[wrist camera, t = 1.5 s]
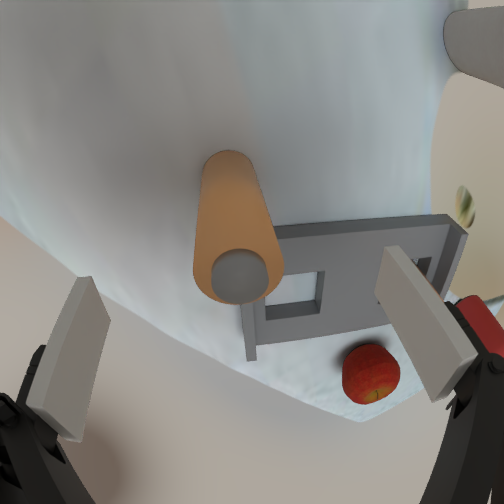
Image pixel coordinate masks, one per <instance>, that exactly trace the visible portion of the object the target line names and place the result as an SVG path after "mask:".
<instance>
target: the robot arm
mask: <svg viewBox="0 0 504 504" xmlns="http://www.w3.org/2000/svg"><path fill="white" fill-rule="evenodd" d="M374 294H375V296H376V297H377V299H378V301H379V302H380V304H381V306H382V308H383V309H384V311H385V313H386V315H387V317H388V318H389V320H390V322H391V324H392V326H393V327H394V329H395V331H396V333H397V335H398V337H399V338H400V340H401V342H402V344H403V346H404V348H405V350H406V352H407V353H408V355H409V357H410V359H411V361H412V363H413V365H414V367H415V369H416V371H417V373H418V375H419V377H420V379H421V381H422V383H423V385H424V387H425V389H426V391H427V393H428V396H429V398H430V400H431V402H432V403H433V402H436V401H438V400H441V399H443V398H446V397H447V396H448V395H449V394H450V393H451V391H452V390H453V389H454V391H455V392H456V395H455V397H454V398H453V399H452V400H451V401H450V403H449V404H448V405H447V407H446V410H448V409H449V408H450V407H451V406H452V408H451V412H450V416H449V420H448V424H447V428H446V431H445V435H444V438H443V441H442V444H441V448H440V451H439V454H438V457H437V460H436V463H435V465H434V468H433V471H432V474H431V476H430V479H429V482H428V484H427V487H426V489H425V492H424V494H423V496H422V499H421V501H420V503H419V504H487V502H488V499H489V495H490V492H491V488H492V493H491V494H492V495H491V504H504V358H503V357H502V356H501V355H499V354H497V353H489V351H488V350H487V349H486V347H485V346H484V344H483V343H482V341H481V340H480V338H479V337H478V335H477V334H476V332H475V331H474V329H473V328H472V326H470V324H469V322H468V321H467V319H465V317H464V315H463V314H462V312H461V311H460V310H459V308H457V307H456V306H455V305H453V304H452V303H451V302H450V301H447V302H443V301H442V300H441V299H440V297H439V296H438V295H437V293H436V292H435V290H434V289H433V288H432V287H431V285H430V284H429V283H428V281H427V280H426V279H425V277H424V276H423V275H422V274H421V272H420V271H419V270H418V268H417V267H416V266H415V265H414V263H413V262H412V261H411V260H410V259H409V257H408V256H407V255H406V254H405V252H404V251H403V250H402V249H401V248H400V246H399V245H396V246H387V247H384V252H383V257H382V261H381V266H380V270H379V275H378V279H377V283H376V287H375V291H374ZM110 322H111V320H110V317H109V315H108V313H107V311H106V309H105V307H104V304H103V302H102V300H101V297H100V295H99V293H98V290H97V288H96V286H95V283H94V281H93V279H92V276H88V277H77V279H76V281H75V283H74V285H73V287H72V289H71V292H70V294H69V296H68V298H67V300H66V302H65V304H64V306H63V308H62V311H61V313H60V315H59V317H58V319H57V322H56V324H55V326H54V328H53V331H52V334H51V336H50V338H49V340H48V343H47V345H40V347H39V348H38V349H37V350H36V352H35V353H34V354H33V357H32V359H31V361H30V366H29V367H28V369H27V372H26V375H25V377H24V380H23V383H22V386H21V388H20V391H19V394H18V397H17V400H16V403H15V402H14V401H13V400H12V399H11V398H10V397H9V396H8V395H6V394H5V393H0V504H95V502H94V501H93V499H92V498H91V496H90V495H89V493H88V491H87V490H86V488H85V487H84V485H83V484H82V482H81V480H80V479H79V477H78V476H77V474H76V472H75V470H74V469H73V467H72V465H71V463H70V462H69V460H68V458H67V456H66V454H65V452H64V450H63V449H62V447H61V445H60V443H59V442H58V441H57V436H58V434H59V435H60V436H62V437H63V438H64V439H65V440H68V441H75V442H81V443H82V438H83V432H84V427H85V422H86V417H87V412H88V407H89V402H90V398H91V394H92V389H93V384H94V381H95V376H96V372H97V368H98V364H99V361H100V357H101V353H102V349H103V346H104V342H105V339H106V335H107V332H108V328H109V325H110Z"/></svg>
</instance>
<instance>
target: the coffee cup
mask: <svg viewBox="0 0 504 504" xmlns="http://www.w3.org/2000/svg"><path fill="white" fill-rule="evenodd" d="M443 36H444V43H445V47H446V50H447V53H448V55H449V57H450V59H451V61H452V62H453V63H454V65H455V66H456V67H457V68H458V69H459V70H460V71H462V72H463V73H465V74H467V75H470V76H473V77H476V78H478V79H481V80H484V81H487V82H489V83H492V84H494V85H497V86H499V87H502V88H504V6H498V7H487V8H477V9H469V10H462V11H456V12H453V13H452V14H450V15H449V16H448V18H447V19H446V21H445V24H444V31H443Z"/></svg>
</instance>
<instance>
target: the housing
mask: <svg viewBox="0 0 504 504" xmlns="http://www.w3.org/2000/svg"><path fill="white" fill-rule="evenodd" d="M273 228H274V231H275V234H276V237H277V241H278V244H279V247H280V250H281V253H282V256H283V260H284V273H283V275H292V274H300V273H309V272H318V277H317V286H316V295H315V300H313V301H305V302H297V303H289V304H281V305H273V306H265V297H264V298H262V299H260V300H258V301H255V302H252V303H248V304H241V313H242V323H243V332H244V341H245V349H246V358H247V361H256V360H257V358H256V345H264V344H272V343H280V342H287V341H295V340H302V339H308V338H315V337H321V336H327V335H333V334H339V333H345V332H350V331H356V330H361V329H366V328H371V327H376V326H381V325H386V324H391V322H390V320H389V318H388V317H387V315H386V313H385V311H384V309H383V308H382V306H381V304H380V302H379V301H378V299H377V297H376V296H375V294H374V291H375V287H376V283H377V279H378V275H379V270H380V266H381V261H382V257H383V252H384V247H387V246H396V245H399V246H400V248H401V249H402V250H403V251H404V252H405V254H406V255H407V256H408V257H409V259H410V260H411V261H412V262H413V263H414V265H415V266H416V267H417V268H418V270H419V271H420V272H421V274H422V275H423V276H424V277H425V279H426V280H427V281H428V283H429V284H430V285H431V287H432V288H433V289H434V290H435V292H436V293H437V295H438V296H439V297H440V299H441V300H442V301H443V302H444V298H445V296H446V294H447V291H448V289H449V287H450V284H451V281H452V279H453V276H454V274H455V271H456V268H457V266H458V263H459V260H460V258H461V255H462V252H463V249H464V246H465V243H466V240H467V237H468V233H467V232H466V231H465V230H464V229H463V228H462V227H461V226H459V225H458V224H457V223H456V222H455V221H454V220H453V219H452V218H451V217H449V216H448V215H447V214H437V215H421V216H405V217H391V218H376V219H363V220H350V221H337V222H325V223H313V224H301V225H290V226H279V227H273ZM418 258H419V261H418V265H416V264H415V262H414V261H413V260H412V259H418Z"/></svg>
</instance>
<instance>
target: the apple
mask: <svg viewBox="0 0 504 504" xmlns="http://www.w3.org/2000/svg"><path fill="white" fill-rule="evenodd" d="M399 379H400V367H399V365H398V362H397V361H396V360H395V358H394V357H393V356H392V355H391V354H390V353H389V352H388V351H387V350H386V349H385V348H383V347H382V346H380V345H375V344H367V345H362V346H359V347H358V348H356V349H354V350H353V351H352V352H351V353H350V354H349V355H348V356H347V357H346V359H345V360H344V363H343V367H342V386H343V390H344V392H345V394H346V395H347V396H348V397H349V398H350V399H351V400H352V401H353V402H355V403H358V404H364V405H366V404H370V403H373V402H376V401H378V400H380V399H382V398H384V397H386V396H388V395H389V394H390V393H392V392H393V391H394V389H395V388H396V387H397V385H398V382H399Z"/></svg>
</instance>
